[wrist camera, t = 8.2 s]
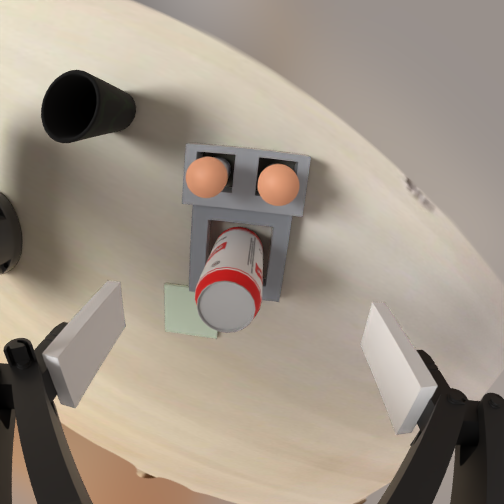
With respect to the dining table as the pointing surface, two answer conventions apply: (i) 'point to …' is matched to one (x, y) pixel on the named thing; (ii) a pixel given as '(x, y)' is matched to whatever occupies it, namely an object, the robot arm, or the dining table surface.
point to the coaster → (184, 312)
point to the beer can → (231, 281)
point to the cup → (84, 107)
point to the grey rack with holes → (244, 209)
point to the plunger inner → (208, 176)
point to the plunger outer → (278, 184)
